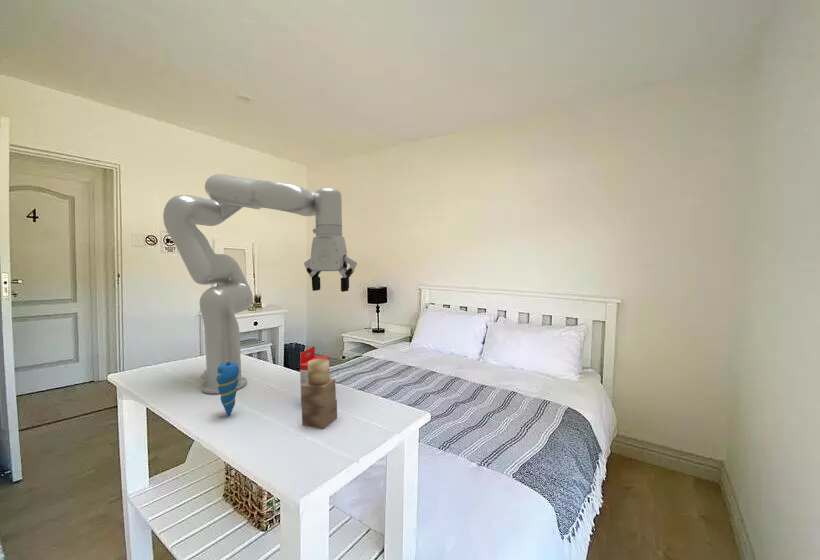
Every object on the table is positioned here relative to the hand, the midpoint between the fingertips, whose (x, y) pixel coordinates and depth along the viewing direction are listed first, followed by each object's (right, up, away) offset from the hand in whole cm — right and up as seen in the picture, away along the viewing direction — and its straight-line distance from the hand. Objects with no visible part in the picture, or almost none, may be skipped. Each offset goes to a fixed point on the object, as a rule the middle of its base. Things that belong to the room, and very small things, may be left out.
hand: (330, 290), depth 106 cm
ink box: (-3, -31, -5) cm, 32 cm away
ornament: (-23, -32, -14) cm, 41 cm away
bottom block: (+1, -32, -18) cm, 36 cm away
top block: (+1, -27, -18) cm, 32 cm away
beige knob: (+1, -22, -18) cm, 28 cm away
